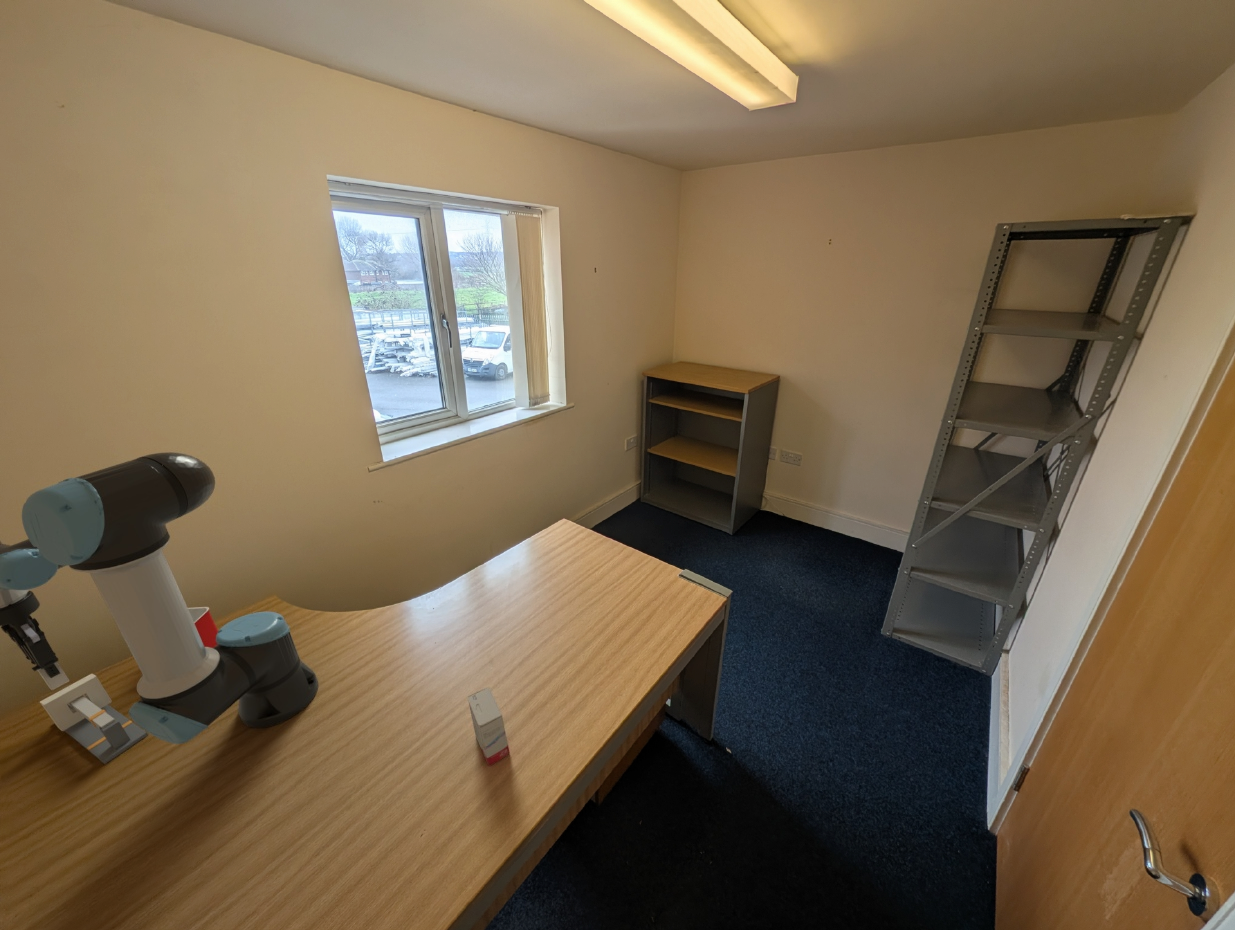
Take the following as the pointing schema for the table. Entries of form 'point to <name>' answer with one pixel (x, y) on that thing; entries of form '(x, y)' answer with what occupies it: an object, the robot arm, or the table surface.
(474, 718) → the ink box
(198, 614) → the mug
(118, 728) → the grey slide rail
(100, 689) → the thick cream end plate
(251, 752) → the table surface
